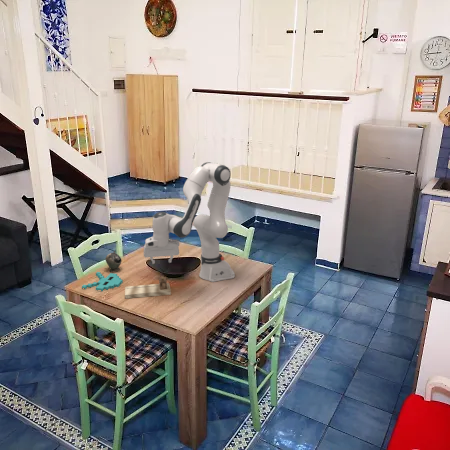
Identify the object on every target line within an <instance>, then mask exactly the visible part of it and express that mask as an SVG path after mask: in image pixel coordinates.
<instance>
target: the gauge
mask: <svg viewBox="0 0 450 450" xmlns="http://www.w3.org/2000/svg"><path fill="white" fill-rule="evenodd" d="M158 280H159V283H158V284H159V286H160V290H162V289H167V283H168V281H167V277H166V276H165V277H164V276H160V277H159V278H158Z"/></svg>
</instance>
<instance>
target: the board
mask: <svg viewBox="0 0 450 450" xmlns="http://www.w3.org/2000/svg"><path fill="white" fill-rule="evenodd" d="M170 284H171V283H170V282H167V289H162V290H160V286H159V283H152V284H140V285H139V284H138V285H129V286H125V287H124V298H125V299H126V300H127V299H128V300H129V299H137V298H138V299H139V298H147V297H158V296H159V297H161V296H169V295H172V289H171V286H170Z"/></svg>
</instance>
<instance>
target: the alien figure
mask: <svg viewBox="0 0 450 450" xmlns="http://www.w3.org/2000/svg"><path fill="white" fill-rule="evenodd" d="M95 276H96V277H97V278H98V281H94V282H92V283H91V282H90V283H88V284H82V285H81V289H82V288H85V289H84V290H87V289H88V288H87V287H91V288H93V287H94V286H96V287H95V291H96V290H101V291H100V292H104V291H109V290H108V289H113V290H114V289H115V288H119V287H120V286H121V285H122V283H124V281H123V279H122V278H121V277H120V275H118V273H114V272H113V273H112V272H109V274H108V275H107V276H106V277H105V276H104V275H103V273H101V272H100V271H96V272H95ZM104 289H106V290H104ZM103 290H104V291H103Z"/></svg>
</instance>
